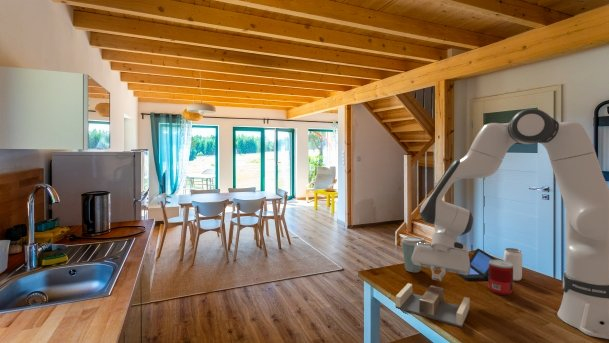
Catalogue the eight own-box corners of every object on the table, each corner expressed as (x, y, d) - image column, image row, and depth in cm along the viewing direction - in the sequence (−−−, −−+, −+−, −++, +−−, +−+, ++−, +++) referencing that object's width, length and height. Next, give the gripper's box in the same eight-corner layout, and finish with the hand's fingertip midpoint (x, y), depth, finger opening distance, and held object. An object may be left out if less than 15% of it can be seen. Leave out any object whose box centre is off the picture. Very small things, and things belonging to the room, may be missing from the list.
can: (524, 281, 129) (525, 252, 128) (507, 280, 130) (508, 252, 129) (517, 275, 135) (517, 248, 134) (500, 274, 136) (501, 247, 135)
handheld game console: (448, 267, 146) (448, 247, 145) (477, 267, 146) (477, 247, 145) (465, 281, 130) (465, 259, 130) (497, 281, 130) (498, 259, 129)
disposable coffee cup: (396, 269, 143) (396, 237, 142) (410, 263, 150) (410, 233, 149) (416, 276, 135) (417, 242, 134) (430, 270, 142) (430, 238, 141)
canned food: (516, 296, 116) (517, 267, 115) (492, 294, 118) (493, 265, 117) (507, 287, 123) (508, 260, 123) (485, 285, 125) (485, 258, 124)
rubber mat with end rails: (469, 310, 106) (469, 298, 106) (461, 327, 96) (462, 314, 96) (408, 293, 119) (408, 283, 119) (395, 307, 109) (395, 296, 108)
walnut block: (443, 288, 113) (433, 303, 102) (443, 299, 113) (433, 315, 102) (430, 285, 116) (419, 299, 105) (430, 295, 116) (419, 311, 105)
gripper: (414, 237, 124) (405, 269, 117) (471, 246, 112) (465, 282, 105) (417, 245, 128) (409, 276, 121) (473, 255, 116) (468, 290, 109)
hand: (436, 279), depth 113 cm, fingers closed
